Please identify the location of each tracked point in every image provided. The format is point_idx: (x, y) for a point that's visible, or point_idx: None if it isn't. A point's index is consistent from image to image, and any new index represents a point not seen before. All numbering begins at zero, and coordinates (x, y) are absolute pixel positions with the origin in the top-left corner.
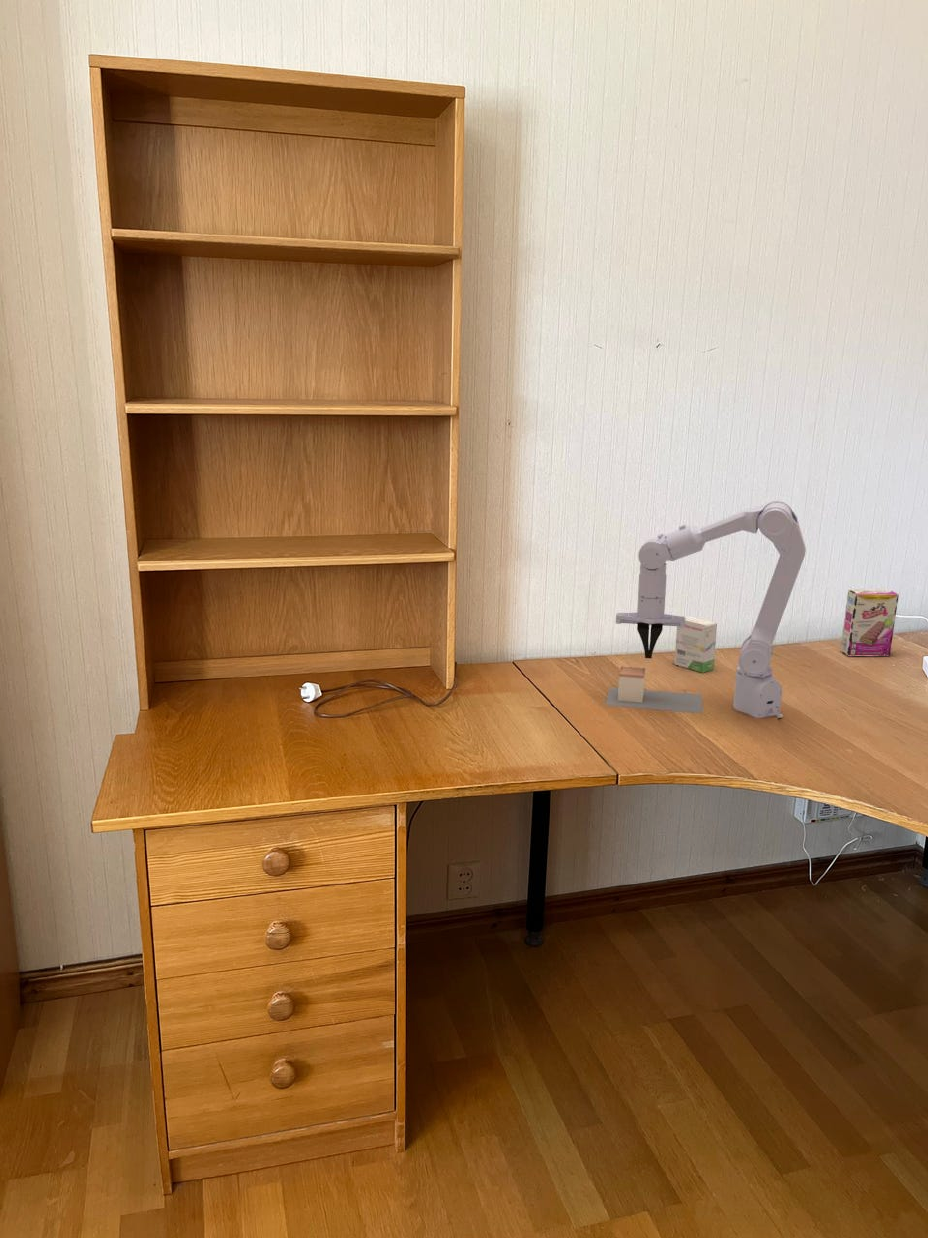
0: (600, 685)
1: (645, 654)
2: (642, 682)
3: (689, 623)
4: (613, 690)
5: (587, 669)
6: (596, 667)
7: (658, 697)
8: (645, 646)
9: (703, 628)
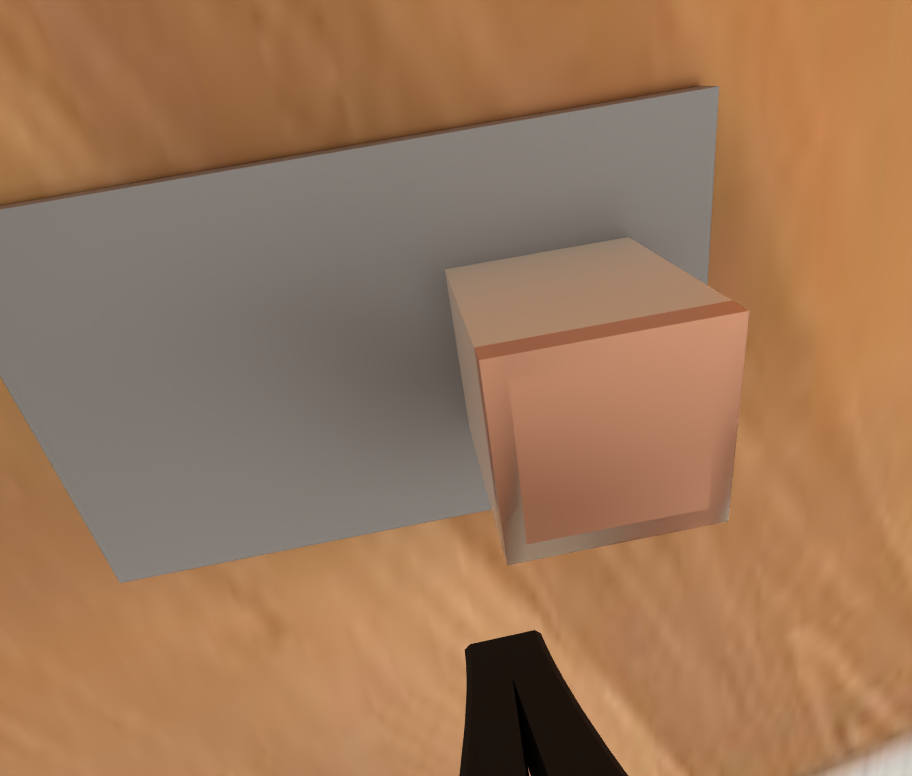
0: (736, 515)
1: (547, 664)
2: (479, 330)
3: None
4: None
5: (799, 673)
6: (756, 708)
7: (361, 419)
8: (589, 771)
9: None
